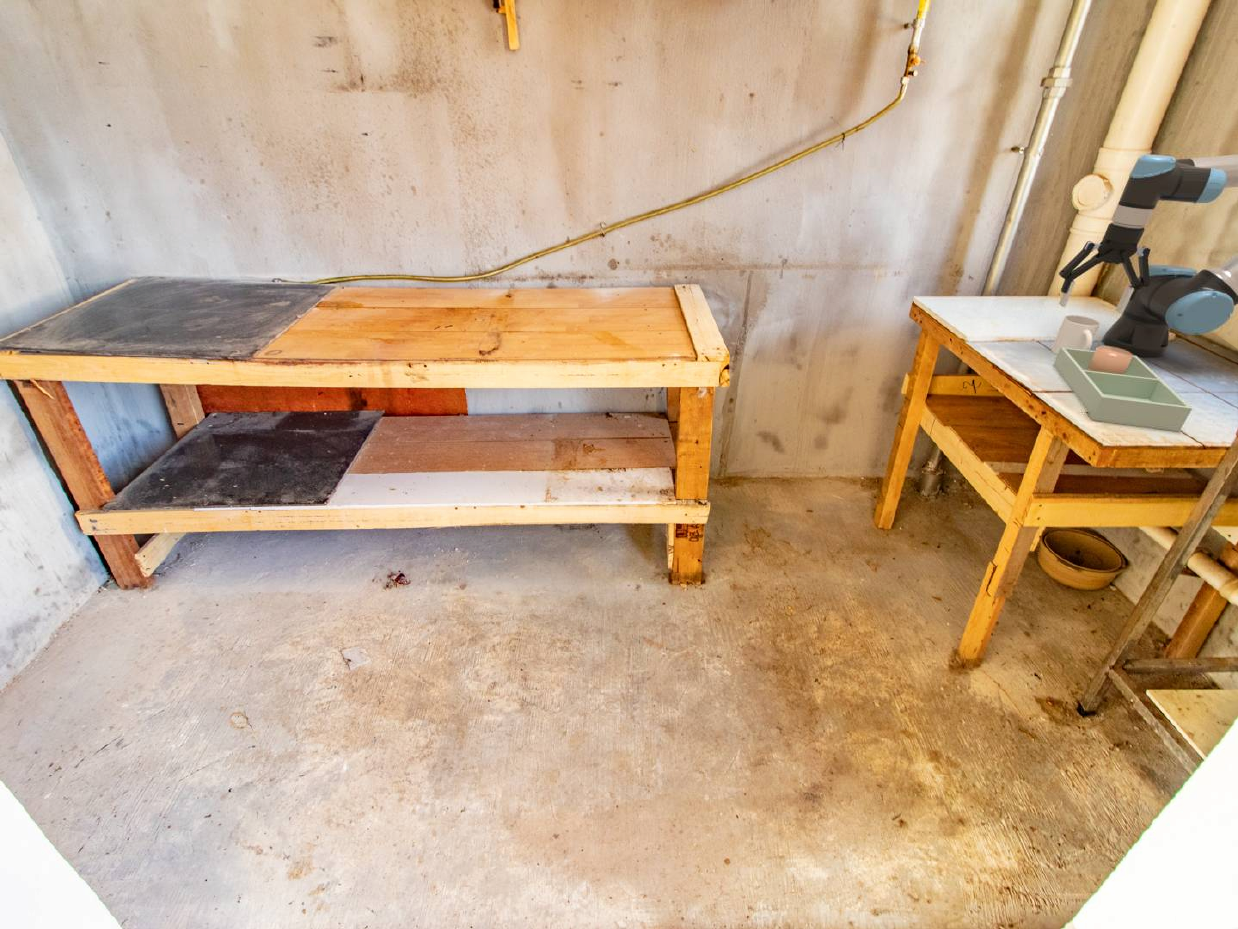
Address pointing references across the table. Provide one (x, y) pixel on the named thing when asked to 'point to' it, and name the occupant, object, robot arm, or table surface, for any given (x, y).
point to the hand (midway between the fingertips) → (1090, 308)
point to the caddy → (1122, 393)
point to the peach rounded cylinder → (1110, 360)
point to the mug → (1075, 333)
